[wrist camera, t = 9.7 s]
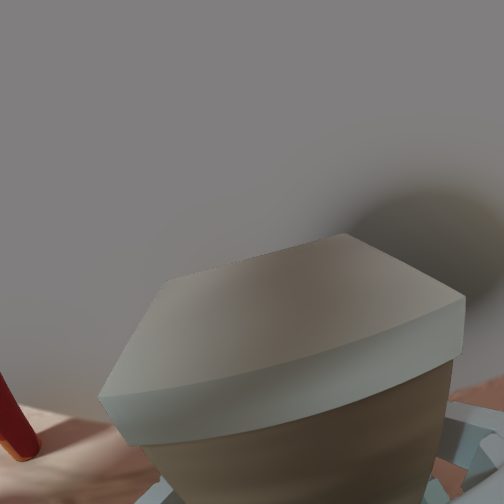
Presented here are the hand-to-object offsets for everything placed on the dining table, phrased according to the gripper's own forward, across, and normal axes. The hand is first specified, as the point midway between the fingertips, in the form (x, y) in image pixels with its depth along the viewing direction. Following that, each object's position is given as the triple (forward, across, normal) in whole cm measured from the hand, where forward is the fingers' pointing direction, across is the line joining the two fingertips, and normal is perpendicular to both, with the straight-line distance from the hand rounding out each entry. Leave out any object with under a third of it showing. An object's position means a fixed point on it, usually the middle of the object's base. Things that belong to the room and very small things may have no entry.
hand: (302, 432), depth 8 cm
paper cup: (+15, +36, +16) cm, 42 cm away
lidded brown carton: (-1, 0, +6) cm, 6 cm away
